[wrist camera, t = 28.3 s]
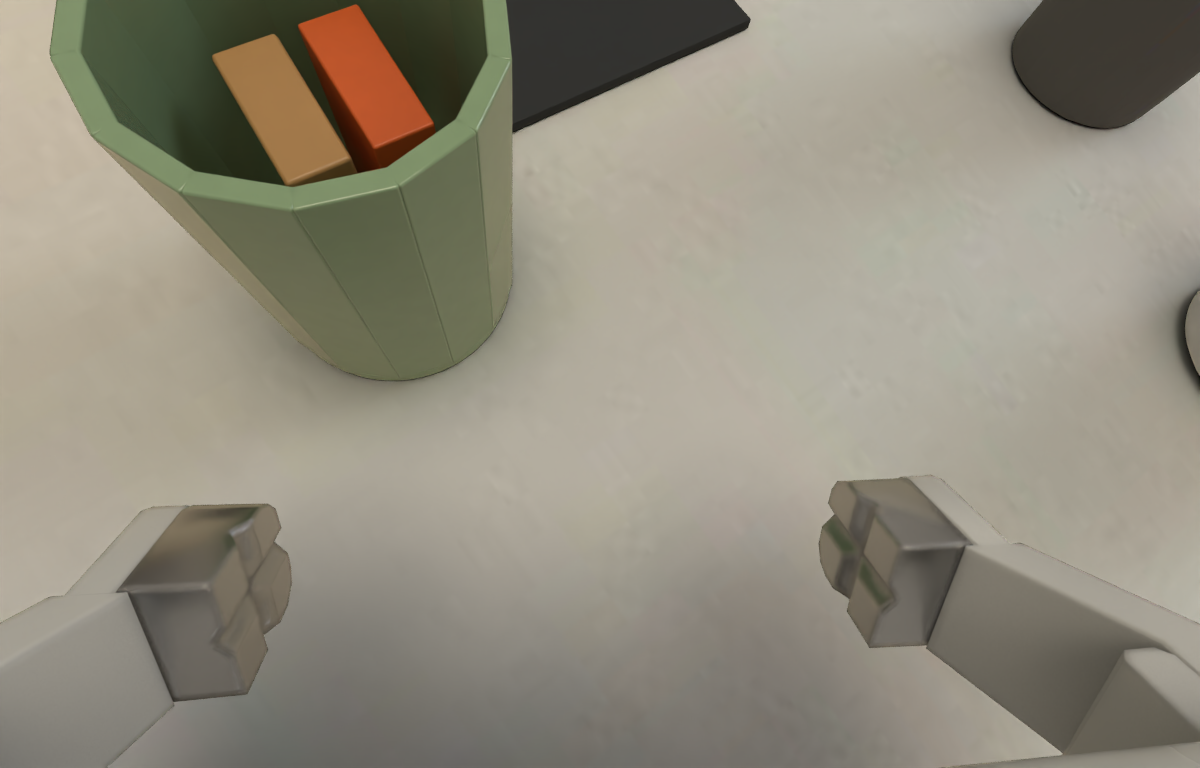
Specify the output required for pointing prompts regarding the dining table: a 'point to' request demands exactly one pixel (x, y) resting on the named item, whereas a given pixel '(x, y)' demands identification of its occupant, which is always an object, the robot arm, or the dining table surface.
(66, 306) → the dining table surface
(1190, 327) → the pill bottle
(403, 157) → the green faceted canister
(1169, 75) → the bottle
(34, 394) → the dining table surface
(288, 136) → the block
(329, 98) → the block
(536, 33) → the mat
